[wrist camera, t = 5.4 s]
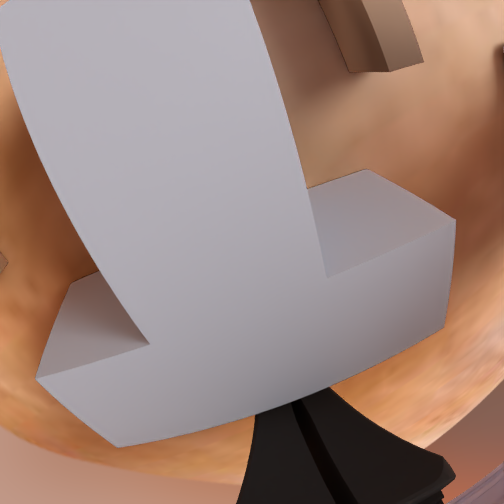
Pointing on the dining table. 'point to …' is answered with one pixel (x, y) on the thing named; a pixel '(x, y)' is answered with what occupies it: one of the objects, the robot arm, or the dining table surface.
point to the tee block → (205, 223)
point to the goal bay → (367, 38)
